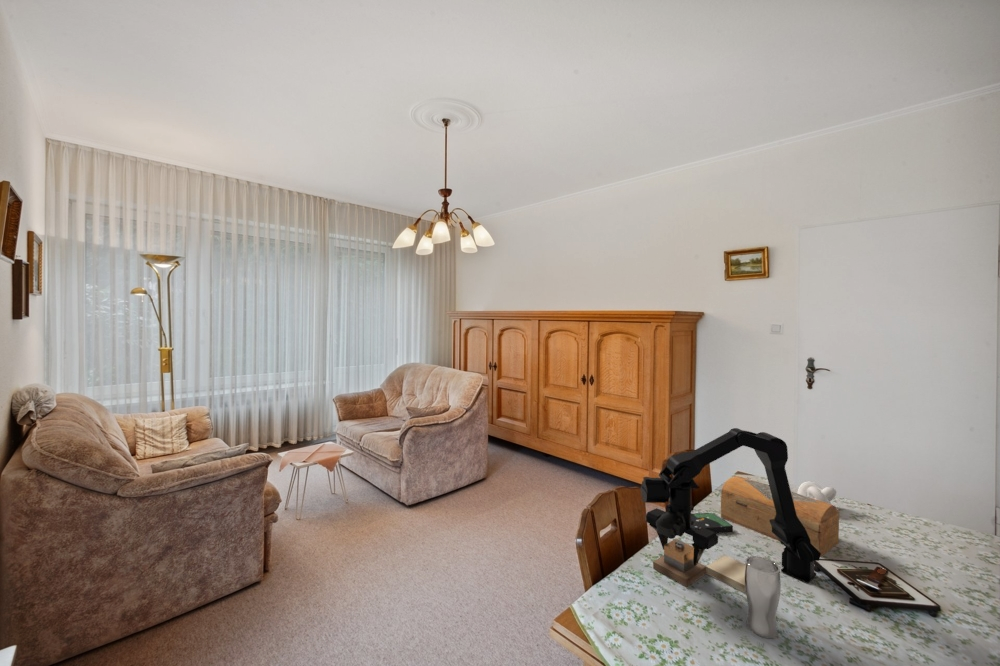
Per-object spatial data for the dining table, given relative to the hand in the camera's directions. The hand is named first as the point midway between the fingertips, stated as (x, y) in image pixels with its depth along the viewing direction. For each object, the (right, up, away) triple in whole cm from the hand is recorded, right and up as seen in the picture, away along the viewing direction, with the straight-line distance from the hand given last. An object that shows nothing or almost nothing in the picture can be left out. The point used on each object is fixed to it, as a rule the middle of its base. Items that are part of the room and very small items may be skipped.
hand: (679, 557), depth 114 cm
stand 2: (+14, -4, -2) cm, 15 cm away
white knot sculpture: (+69, -3, +39) cm, 80 cm away
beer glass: (+9, -5, -22) cm, 24 cm away
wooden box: (+44, -4, +23) cm, 50 cm away
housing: (0, -2, 0) cm, 2 cm away
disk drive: (+20, -4, +25) cm, 32 cm away
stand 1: (0, -4, 0) cm, 4 cm away
